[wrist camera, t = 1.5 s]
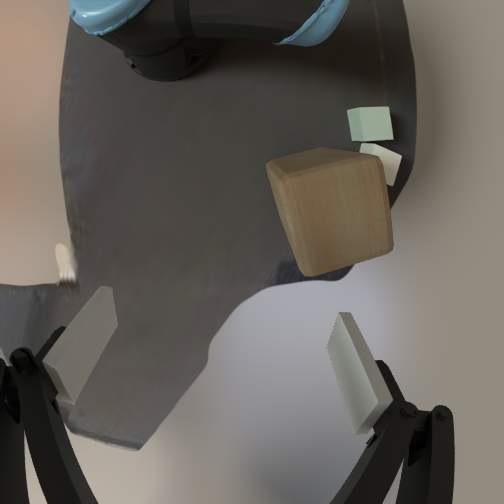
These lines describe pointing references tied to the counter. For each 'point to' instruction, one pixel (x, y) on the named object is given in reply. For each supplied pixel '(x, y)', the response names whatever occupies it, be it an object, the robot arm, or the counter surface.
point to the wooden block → (332, 207)
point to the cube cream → (384, 160)
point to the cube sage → (370, 123)
